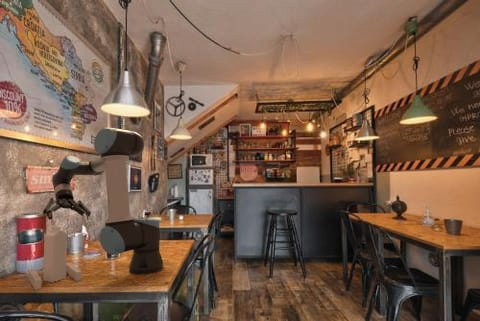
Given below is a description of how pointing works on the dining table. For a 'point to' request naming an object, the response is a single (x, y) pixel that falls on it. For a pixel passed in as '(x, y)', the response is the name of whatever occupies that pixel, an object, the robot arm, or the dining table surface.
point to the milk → (55, 255)
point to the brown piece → (37, 279)
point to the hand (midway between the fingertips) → (70, 224)
